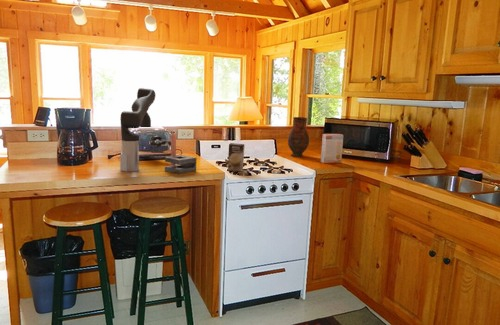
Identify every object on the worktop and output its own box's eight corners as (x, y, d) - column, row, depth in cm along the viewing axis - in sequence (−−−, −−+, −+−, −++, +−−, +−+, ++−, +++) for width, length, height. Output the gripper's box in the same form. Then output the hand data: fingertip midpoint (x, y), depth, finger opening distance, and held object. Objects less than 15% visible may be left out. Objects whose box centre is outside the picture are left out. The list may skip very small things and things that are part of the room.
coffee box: (227, 170, 226) (228, 144, 223) (228, 168, 233) (229, 142, 230) (242, 171, 226) (243, 145, 223) (243, 169, 232) (244, 143, 229)
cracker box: (336, 162, 276) (339, 133, 272) (341, 163, 270) (344, 134, 266) (319, 162, 271) (322, 133, 267) (324, 163, 266) (326, 134, 262)
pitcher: (290, 158, 282) (293, 118, 277) (282, 153, 303) (284, 115, 297) (311, 158, 286) (314, 118, 280) (301, 153, 306) (304, 116, 301)
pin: (172, 167, 228) (173, 134, 225) (169, 166, 230) (170, 133, 226) (176, 166, 231) (177, 134, 227) (173, 165, 232) (173, 133, 229)
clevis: (178, 174, 210) (179, 160, 209) (164, 170, 217) (164, 157, 216) (196, 171, 221) (196, 157, 219) (182, 167, 228) (182, 154, 226)
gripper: (144, 135, 244) (155, 139, 231) (165, 135, 252) (176, 138, 240) (144, 147, 245) (155, 151, 233) (165, 146, 254) (176, 149, 241)
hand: (165, 144), depth 236 cm, fingers open, 8 cm apart
